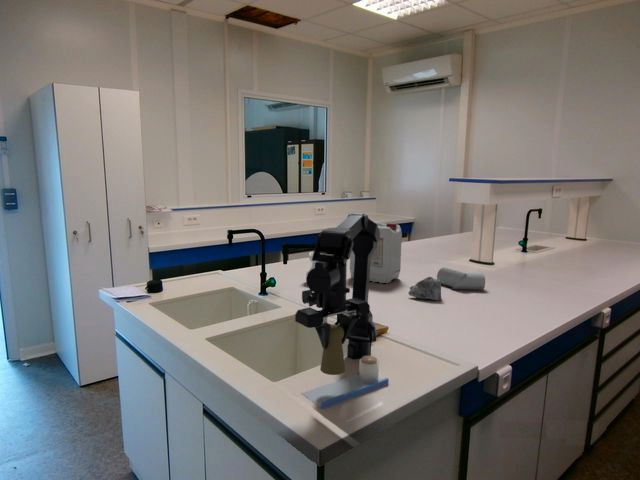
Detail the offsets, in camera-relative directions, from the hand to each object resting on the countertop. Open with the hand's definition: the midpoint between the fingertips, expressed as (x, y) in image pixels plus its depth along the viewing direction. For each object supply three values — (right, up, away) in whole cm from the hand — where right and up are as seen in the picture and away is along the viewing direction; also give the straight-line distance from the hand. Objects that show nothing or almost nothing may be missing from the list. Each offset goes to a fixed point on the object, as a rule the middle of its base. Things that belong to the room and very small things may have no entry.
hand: (333, 345), depth 105 cm
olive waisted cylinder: (0, -6, +1) cm, 6 cm away
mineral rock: (+44, -1, +88) cm, 99 cm away
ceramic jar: (+9, -11, +8) cm, 16 cm away
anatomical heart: (-5, +4, +116) cm, 116 cm away
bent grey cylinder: (+65, +2, +109) cm, 127 cm away
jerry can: (+25, +5, +124) cm, 126 cm away
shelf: (+3, -12, +3) cm, 13 cm away
